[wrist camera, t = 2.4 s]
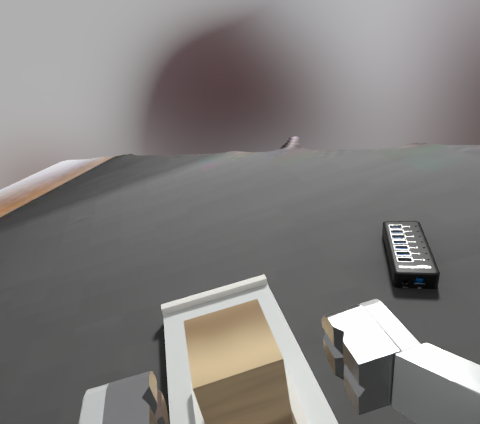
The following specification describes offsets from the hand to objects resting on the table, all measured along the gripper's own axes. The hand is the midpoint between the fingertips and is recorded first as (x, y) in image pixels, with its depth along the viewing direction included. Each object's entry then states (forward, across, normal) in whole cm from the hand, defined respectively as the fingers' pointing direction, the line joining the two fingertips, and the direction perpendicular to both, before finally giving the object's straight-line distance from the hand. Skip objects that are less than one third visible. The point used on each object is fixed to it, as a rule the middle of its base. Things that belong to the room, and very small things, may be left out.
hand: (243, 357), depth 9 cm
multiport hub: (+23, -23, +20) cm, 39 cm away
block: (+9, 0, +18) cm, 20 cm away
